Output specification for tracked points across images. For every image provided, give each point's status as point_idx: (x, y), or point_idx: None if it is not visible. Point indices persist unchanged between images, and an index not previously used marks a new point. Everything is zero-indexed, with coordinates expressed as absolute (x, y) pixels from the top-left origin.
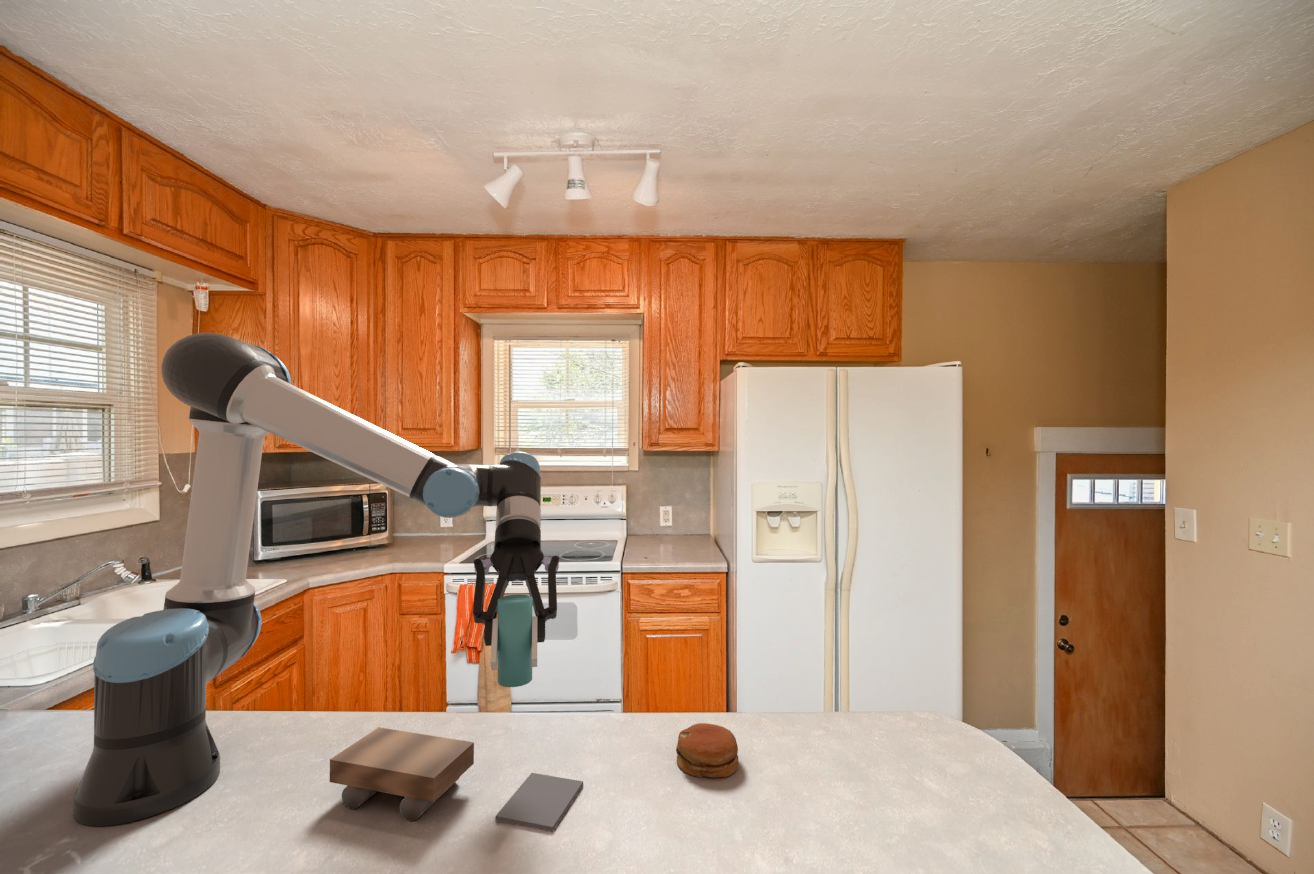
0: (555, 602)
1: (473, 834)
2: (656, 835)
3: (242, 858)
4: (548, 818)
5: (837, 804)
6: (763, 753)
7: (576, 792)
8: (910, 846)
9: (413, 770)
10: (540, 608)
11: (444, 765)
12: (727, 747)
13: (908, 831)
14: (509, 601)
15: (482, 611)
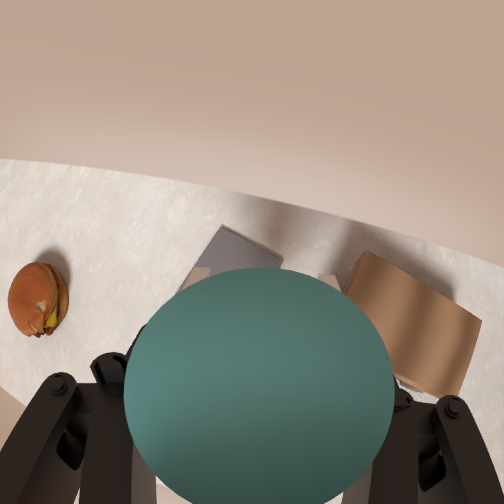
0: (36, 403)
1: (304, 245)
2: (130, 204)
3: (477, 263)
4: (223, 241)
5: (12, 214)
6: (5, 297)
7: (183, 282)
8: (17, 172)
9: (395, 274)
10: (112, 403)
11: (359, 277)
12: (23, 268)
13: (8, 183)
14: (308, 354)
15: (429, 431)
